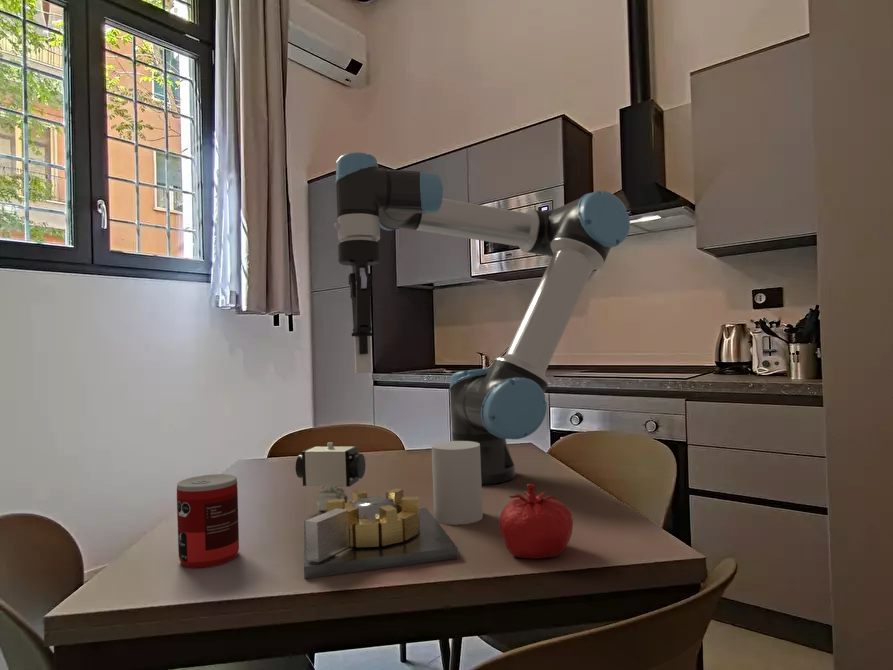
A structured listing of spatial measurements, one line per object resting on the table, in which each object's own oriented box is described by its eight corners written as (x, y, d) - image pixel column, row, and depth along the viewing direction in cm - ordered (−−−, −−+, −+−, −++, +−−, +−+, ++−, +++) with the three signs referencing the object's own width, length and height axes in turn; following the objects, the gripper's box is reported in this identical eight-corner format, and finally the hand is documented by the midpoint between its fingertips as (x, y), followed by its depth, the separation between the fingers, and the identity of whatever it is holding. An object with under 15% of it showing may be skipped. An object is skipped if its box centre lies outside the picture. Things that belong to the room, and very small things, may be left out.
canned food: (190, 550, 83) (188, 475, 83) (245, 546, 84) (243, 472, 84) (169, 571, 76) (166, 488, 76) (230, 566, 76) (228, 484, 77)
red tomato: (575, 568, 72) (573, 495, 72) (496, 564, 74) (495, 493, 74) (571, 539, 82) (570, 475, 82) (502, 537, 84) (501, 474, 84)
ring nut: (366, 513, 93) (365, 482, 93) (436, 523, 86) (435, 490, 86) (275, 552, 76) (274, 515, 76) (353, 569, 69) (352, 528, 69)
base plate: (426, 516, 96) (425, 480, 96) (457, 558, 76) (455, 513, 76) (304, 530, 91) (303, 492, 91) (304, 578, 71) (302, 530, 71)
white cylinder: (488, 511, 97) (485, 441, 98) (474, 526, 90) (472, 450, 90) (443, 508, 100) (441, 440, 100) (427, 522, 92) (424, 448, 93)
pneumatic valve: (358, 513, 99) (356, 444, 99) (296, 512, 101) (294, 444, 101) (369, 504, 104) (366, 439, 104) (309, 503, 106) (307, 439, 107)
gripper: (336, 248, 107) (340, 372, 107) (340, 234, 95) (344, 375, 94) (375, 248, 109) (379, 370, 109) (384, 235, 97) (389, 373, 96)
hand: (363, 372), depth 102 cm, fingers closed
